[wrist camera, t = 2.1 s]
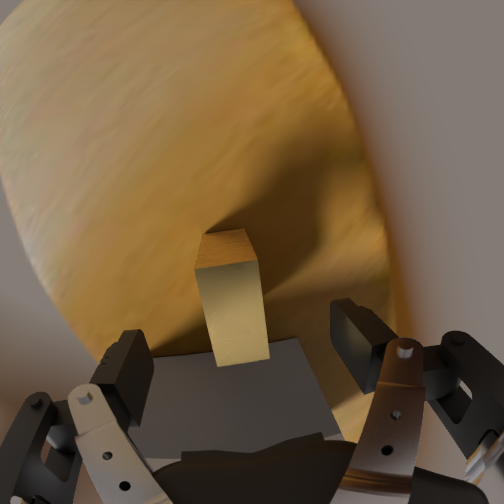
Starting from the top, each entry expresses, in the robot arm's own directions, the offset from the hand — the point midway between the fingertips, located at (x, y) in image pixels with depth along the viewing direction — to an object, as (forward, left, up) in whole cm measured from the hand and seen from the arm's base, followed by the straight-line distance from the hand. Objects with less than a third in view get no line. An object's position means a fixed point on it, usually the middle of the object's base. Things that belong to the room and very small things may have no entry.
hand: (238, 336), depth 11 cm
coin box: (+12, -2, -7) cm, 13 cm away
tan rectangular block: (0, 0, -4) cm, 4 cm away
